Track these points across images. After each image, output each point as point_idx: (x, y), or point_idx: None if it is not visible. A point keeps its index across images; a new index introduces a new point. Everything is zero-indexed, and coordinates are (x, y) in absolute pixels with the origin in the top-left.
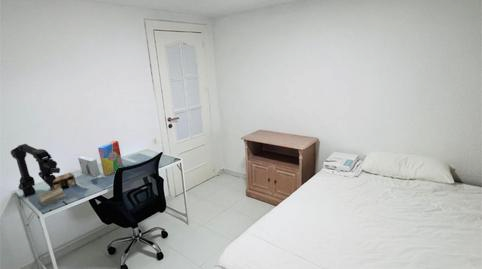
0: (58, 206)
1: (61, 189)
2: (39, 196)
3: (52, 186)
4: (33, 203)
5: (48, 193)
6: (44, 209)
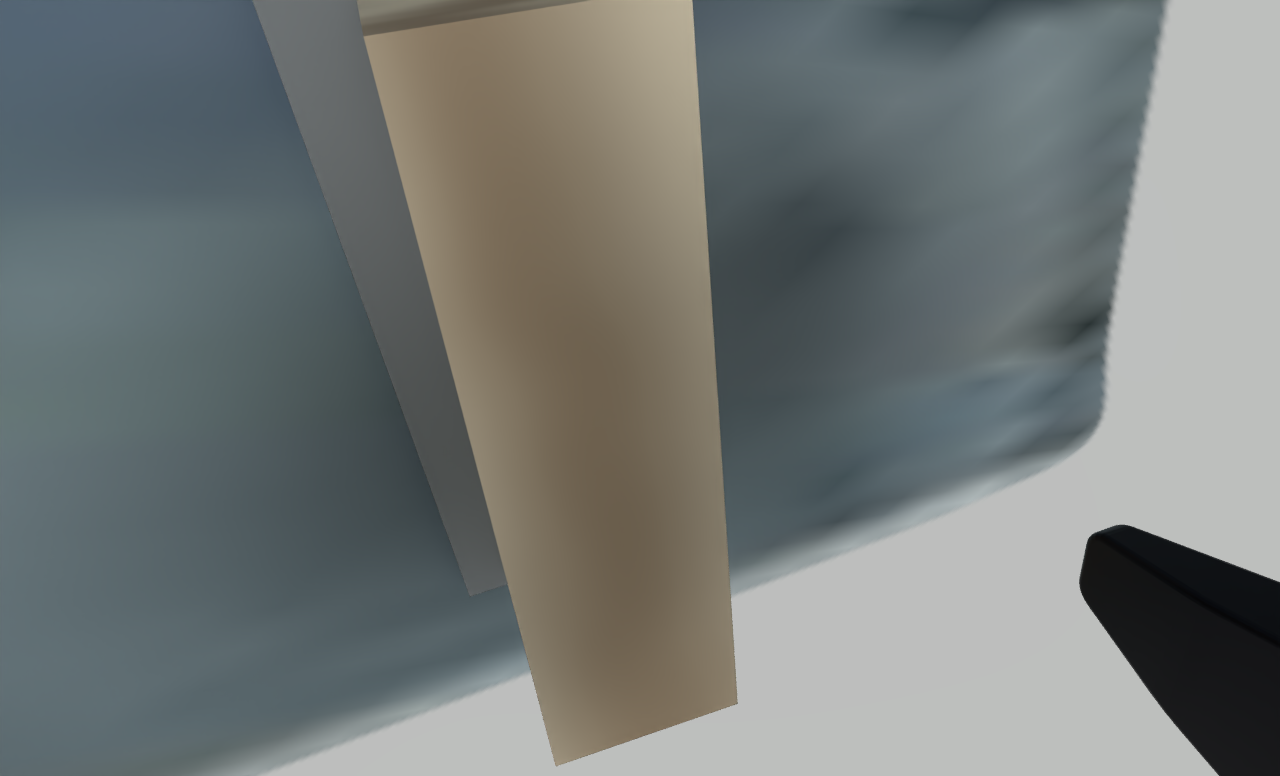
0: (1080, 173)
1: (687, 26)
2: (674, 717)
3: (1186, 562)
4: (398, 691)
5: (679, 524)
6: (934, 441)
